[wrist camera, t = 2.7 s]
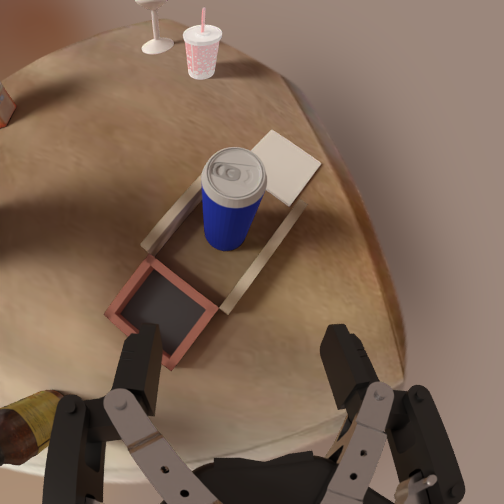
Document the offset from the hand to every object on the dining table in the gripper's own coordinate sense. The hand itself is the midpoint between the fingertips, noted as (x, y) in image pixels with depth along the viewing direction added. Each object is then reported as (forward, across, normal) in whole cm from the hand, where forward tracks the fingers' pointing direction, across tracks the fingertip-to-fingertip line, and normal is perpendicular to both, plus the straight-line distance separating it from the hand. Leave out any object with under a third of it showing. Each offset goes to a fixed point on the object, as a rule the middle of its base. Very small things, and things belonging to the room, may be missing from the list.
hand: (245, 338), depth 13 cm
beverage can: (+23, 0, -6) cm, 23 cm away
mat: (+30, +7, +1) cm, 30 cm away
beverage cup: (+44, -6, +15) cm, 47 cm away
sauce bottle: (+5, -23, -24) cm, 34 cm away
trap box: (+15, -8, -13) cm, 22 cm away
